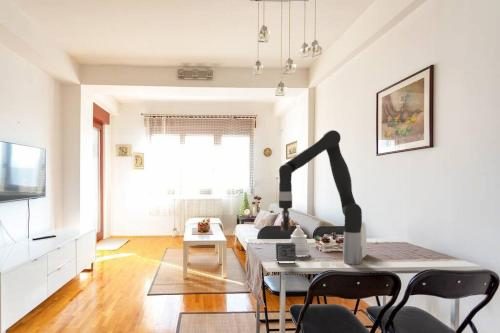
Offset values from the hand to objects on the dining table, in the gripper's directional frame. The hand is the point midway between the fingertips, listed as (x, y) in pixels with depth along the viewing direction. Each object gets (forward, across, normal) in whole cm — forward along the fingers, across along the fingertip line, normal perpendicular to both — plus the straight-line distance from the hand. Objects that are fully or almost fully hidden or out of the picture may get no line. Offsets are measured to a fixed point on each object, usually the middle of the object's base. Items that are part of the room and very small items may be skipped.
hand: (285, 229), depth 202 cm
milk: (+18, +17, -43) cm, 50 cm away
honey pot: (+18, +18, -9) cm, 27 cm away
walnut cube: (0, 0, 0) cm, 0 cm away
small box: (+18, 0, 0) cm, 18 cm away
